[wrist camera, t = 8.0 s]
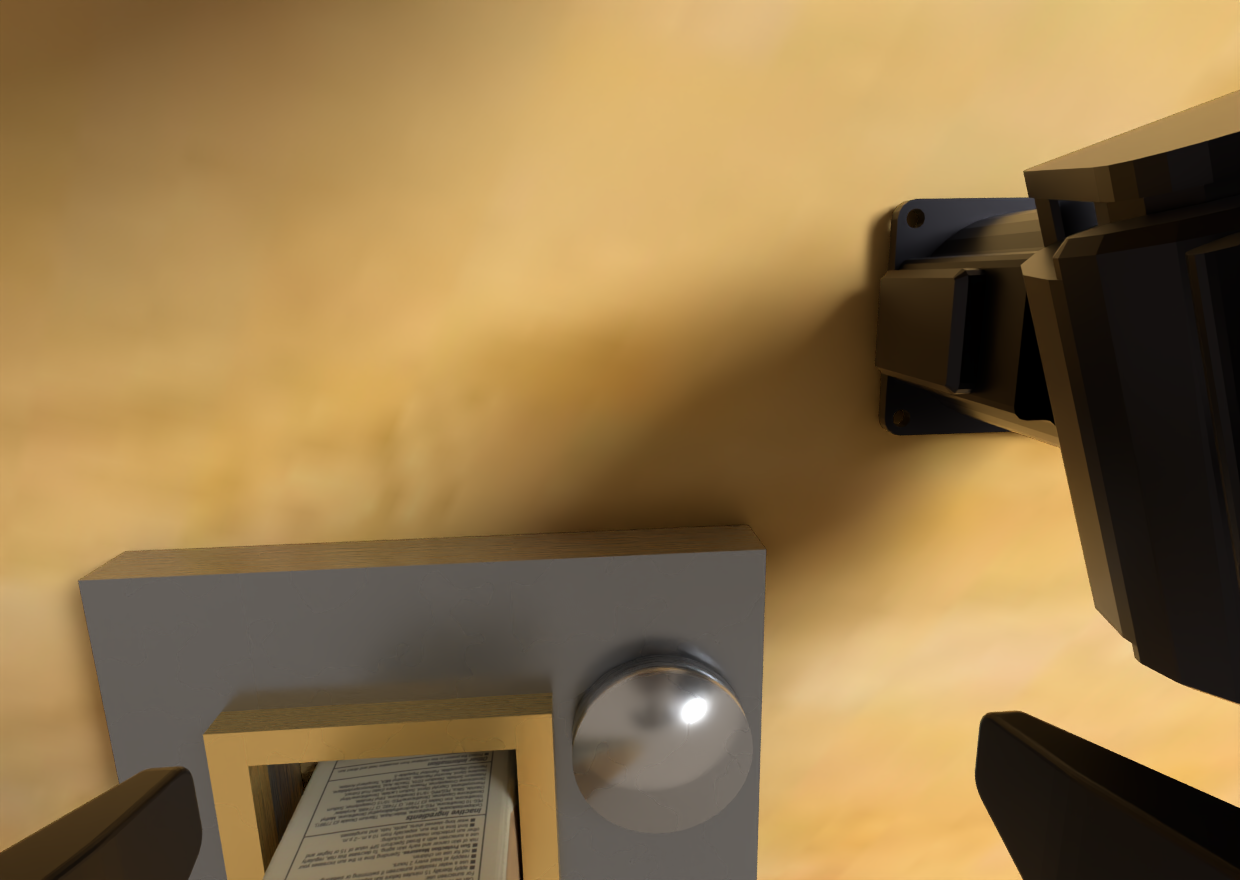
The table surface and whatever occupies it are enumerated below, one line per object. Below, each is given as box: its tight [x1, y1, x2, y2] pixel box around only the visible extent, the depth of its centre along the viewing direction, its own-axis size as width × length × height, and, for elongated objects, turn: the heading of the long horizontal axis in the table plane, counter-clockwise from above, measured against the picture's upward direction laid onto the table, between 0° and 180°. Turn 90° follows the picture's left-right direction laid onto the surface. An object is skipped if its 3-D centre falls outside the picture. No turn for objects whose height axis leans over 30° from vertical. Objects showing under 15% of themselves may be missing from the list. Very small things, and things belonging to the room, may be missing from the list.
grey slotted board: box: [78, 525, 766, 880], centre depth 21 cm, size 18×15×3 cm
